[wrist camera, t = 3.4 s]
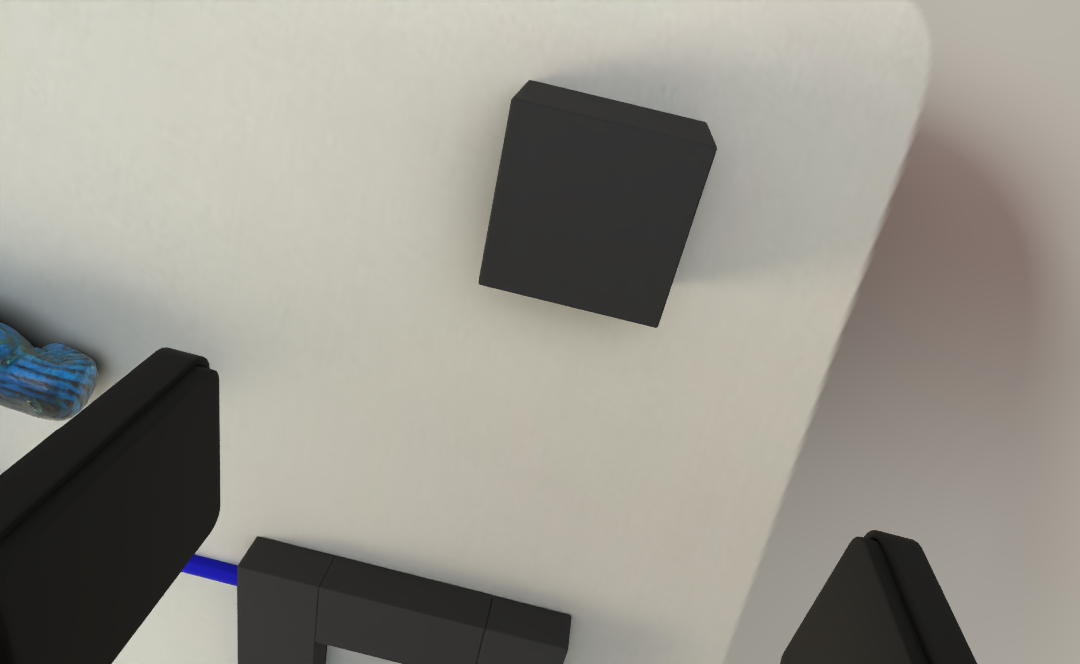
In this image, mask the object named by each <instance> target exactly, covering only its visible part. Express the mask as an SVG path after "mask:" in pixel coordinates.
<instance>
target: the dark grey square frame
mask: <svg viewBox="0 0 1080 664" xmlns="http://www.w3.org/2000/svg"><path fill="white" fill-rule="evenodd" d="M237 610H238V664H325V662H326V651H327V645H330V646H334V647H338V648H342V649H346V650H350V651H354V652H358V653H362V654H366V655H370V656H374V657H378V658H382V659H386V660H390V661H394V662H398V663H402V664H563V662H564V660H565V657H566V654H567V651H568V644H569V635H570V626H571V616H570V615H567V614H563V613H559V612H555V611H551V610H547V609H543V608H539V607H535V606H531V605H527V604H523V603H519V602H515V601H511V600H507V599H503V598H499V597H495V596H494V597H493V598H492V595H489V594H485V593H481V592H477V591H473V590H469V589H465V588H461V587H457V586H453V585H449V584H445V583H441V582H437V581H433V580H429V579H425V578H421V577H417V576H413V575H409V574H405V573H401V572H397V571H393V570H389V569H385V568H381V567H377V566H373V565H369V564H365V563H361V562H357V561H353V560H349V559H345V558H341V557H337V556H333V555H329V554H325V553H321V552H317V551H313V550H309V549H305V548H301V547H297V546H293V545H289V544H285V543H281V542H277V541H273V540H269V539H265V538H261V537H257V538H256V539H255V541H254V542H253V544H252V545H251V547H250V548H249V550H248V551H247V553H246V554H245V556H244V557H243V559H242V560H241V562H240V563H239V565H238V566H237Z"/></svg>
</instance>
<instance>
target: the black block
mask: <svg viewBox="0 0 1080 664" xmlns="http://www.w3.org/2000/svg"><path fill="white" fill-rule="evenodd" d="M716 150H717V147H716V145H715V142H714V140H713V137H712V135H711V132H710V130H709V128H708V125H707V123H706V122H702V121H698V120H694V119H690V118H686V117H682V116H677V115H673V114H669V113H665V112H661V111H657V110H652V109H648V108H644V107H640V106H636V105H632V104H628V103H623V102H619V101H615V100H611V99H607V98H603V97H598V96H594V95H590V94H586V93H582V92H578V91H573V90H569V89H565V88H561V87H557V86H553V85H549V84H544V83H540V82H536V81H532V80H529V81H528V82H527V83H526V84H525V85H524V86H523V88H522V89H521V90H520V91H519V92H518V93H517V94H516V95H515V96H514V97H513V98H512V100H511V105H510V110H509V116H508V122H507V127H506V133H505V138H504V144H503V149H502V155H501V160H500V166H499V171H498V177H497V182H496V188H495V193H494V199H493V204H492V210H491V216H490V221H489V227H488V232H487V238H486V243H485V249H484V254H483V260H482V265H481V271H480V276H479V284H480V285H483V286H488V287H492V288H496V289H500V290H504V291H508V292H512V293H516V294H520V295H524V296H528V297H532V298H537V299H541V300H545V301H549V302H553V303H557V304H561V305H565V306H569V307H573V308H577V309H581V310H586V311H590V312H594V313H598V314H602V315H606V316H610V317H614V318H618V319H622V320H626V321H630V322H635V323H639V324H643V325H647V326H651V327H655V328H657V327H658V325H659V322H660V319H661V316H662V313H663V310H664V307H665V304H666V301H667V298H668V295H669V292H670V289H671V286H672V283H673V280H674V277H675V274H676V271H677V268H678V265H679V262H680V259H681V256H682V253H683V250H684V247H685V244H686V241H687V237H688V234H689V231H690V228H691V225H692V222H693V219H694V216H695V213H696V210H697V207H698V204H699V201H700V198H701V195H702V192H703V189H704V186H705V183H706V180H707V177H708V174H709V171H710V168H711V165H712V162H713V159H714V156H715V153H716Z"/></svg>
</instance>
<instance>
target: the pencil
mask: <svg viewBox="0 0 1080 664" xmlns="http://www.w3.org/2000/svg"><path fill="white" fill-rule="evenodd" d="M181 572H185V573H188V574H192V575H196V576H200V577H204V578H208V579H212V580H216V581H219V582H223V583H227V584H231V585H235V586H237V565H233V564H229V563H225V562H221V561H217V560H214V559H210V558H206V557H202V556H198V555H193V556H192V558H191V559H190V560H189V562H188V563H187V564H186V566H185V567H184V568H183V570H182V571H181Z"/></svg>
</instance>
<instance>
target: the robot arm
mask: <svg viewBox="0 0 1080 664" xmlns="http://www.w3.org/2000/svg"><path fill="white" fill-rule="evenodd" d="M219 511H220V424H219V375H218V373H217V371H215V370H212V369H210V367H209V362H208V360H207V359H206V358H204V357H202V356H198V355H195V354H191V353H187V352H183V351H179V350H175V349H171V348H167V347H166V348H161V349H159V350H157V351H156V352H155V353H153V354H152V355H151V356H150V357H148V358H147V359H146V360H145V361H143V362H142V363H141V364H140V365H138V366H137V367H136V368H135V369H133V370H132V371H131V372H130V373H128V374H127V375H126V376H125V377H123V378H122V379H121V380H120V381H118V382H117V383H116V384H115V385H113V386H112V387H111V388H110V389H108V390H107V391H106V392H105V393H103V394H102V395H101V396H100V397H98V398H97V399H96V400H95V401H93V402H92V403H91V404H90V405H89V406H87V407H86V408H85V409H84V410H82V411H81V412H80V413H79V414H77V415H76V416H75V417H74V418H72V419H71V420H70V421H69V422H67V423H66V424H65V425H64V426H62V427H61V428H59V429H58V430H56V431H55V432H54V433H52V434H51V435H50V436H49V437H47V438H46V439H45V440H44V441H42V442H41V443H40V444H39V445H37V446H36V447H35V448H34V449H32V450H31V451H30V452H29V453H27V454H26V455H25V456H24V457H22V458H21V459H20V460H19V461H17V462H16V463H15V464H14V465H12V466H11V467H10V468H9V469H7V470H6V471H5V472H4V473H2V474H1V475H0V664H112V662H113V661H114V660H115V658H116V657H117V656H118V654H119V653H120V652H121V650H122V649H123V648H124V646H125V645H126V644H127V642H128V641H129V640H130V638H131V637H132V636H133V634H134V633H135V632H136V631H137V629H138V628H139V627H140V625H141V624H142V623H143V621H144V620H145V619H146V617H147V616H148V615H149V613H150V612H151V611H152V609H153V608H154V607H155V605H156V604H157V603H158V601H159V600H160V599H161V597H162V596H163V595H164V593H165V592H166V591H167V589H168V588H169V587H170V585H171V584H172V583H173V582H174V580H175V579H176V578H177V576H178V575H179V574H180V572H181V571H182V570H183V568H184V567H185V566H186V564H187V563H188V562H189V560H190V559H191V558H192V556H193V555H194V554H195V552H196V551H197V550H198V548H199V547H200V546H201V544H202V543H203V542H204V540H205V539H206V538H207V537H208V535H209V534H210V532H211V531H212V529H213V528H214V526H215V524H216V521H217V518H218V516H219ZM780 664H977V663H976V661H975V658H974V656H973V654H972V652H971V650H970V648H969V646H968V644H967V642H966V640H965V638H964V635H963V633H962V631H961V629H960V627H959V625H958V623H957V621H956V619H955V617H954V614H953V612H952V610H951V608H950V606H949V604H948V602H947V600H946V598H945V596H944V594H943V591H942V589H941V587H940V585H939V583H938V581H937V579H936V577H935V575H934V573H933V570H932V569H931V566H930V564H929V562H928V560H927V558H926V556H925V554H924V552H923V550H922V548H921V546H920V545H919V543H917V542H916V541H914V540H912V539H908V538H904V537H900V536H896V535H892V534H889V533H885V532H881V531H877V530H872V531H870V532H868V533H867V534H866V535H865V536H864V538H863V537H856V538H854V539H853V540H852V541H851V543H850V544H849V545H848V547H847V549H846V550H845V552H844V554H843V556H842V557H841V559H840V561H839V562H838V564H837V565H836V567H835V569H834V570H833V572H832V574H831V575H830V577H829V579H828V580H827V582H826V584H825V585H824V587H823V589H822V590H821V592H820V593H819V595H818V597H817V598H816V600H815V602H814V604H813V605H812V607H811V608H810V610H809V612H808V613H807V615H806V617H805V618H804V620H803V622H802V623H801V625H800V627H799V628H798V630H797V632H796V633H795V635H794V636H793V638H792V640H791V642H790V643H789V645H788V646H787V648H786V650H785V651H784V653H783V656H782V659H781V662H780Z"/></svg>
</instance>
